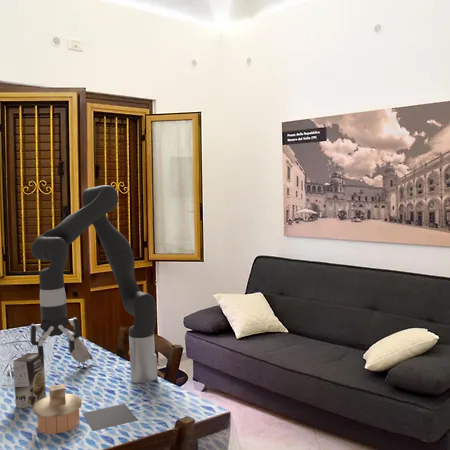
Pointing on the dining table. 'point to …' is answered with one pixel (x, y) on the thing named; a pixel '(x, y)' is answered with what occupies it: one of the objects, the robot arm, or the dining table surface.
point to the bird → (80, 352)
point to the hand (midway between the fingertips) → (56, 354)
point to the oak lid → (57, 403)
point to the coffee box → (29, 380)
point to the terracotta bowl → (58, 423)
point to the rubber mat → (109, 417)
